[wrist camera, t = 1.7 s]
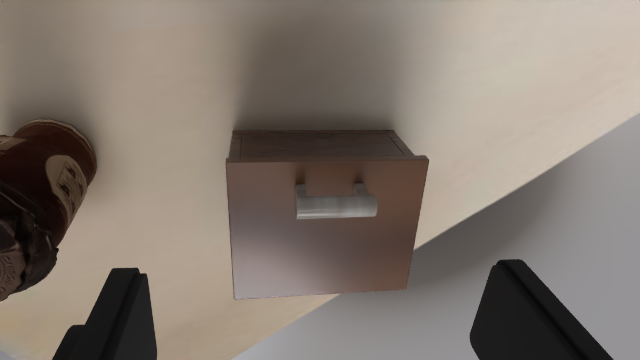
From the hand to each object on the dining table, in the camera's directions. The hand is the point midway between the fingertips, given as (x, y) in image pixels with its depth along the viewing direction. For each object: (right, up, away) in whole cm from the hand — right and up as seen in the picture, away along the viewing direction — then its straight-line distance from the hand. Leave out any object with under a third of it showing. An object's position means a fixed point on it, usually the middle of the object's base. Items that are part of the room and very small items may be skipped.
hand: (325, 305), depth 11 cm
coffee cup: (-21, +5, +22) cm, 31 cm away
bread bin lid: (0, 0, +19) cm, 19 cm away
